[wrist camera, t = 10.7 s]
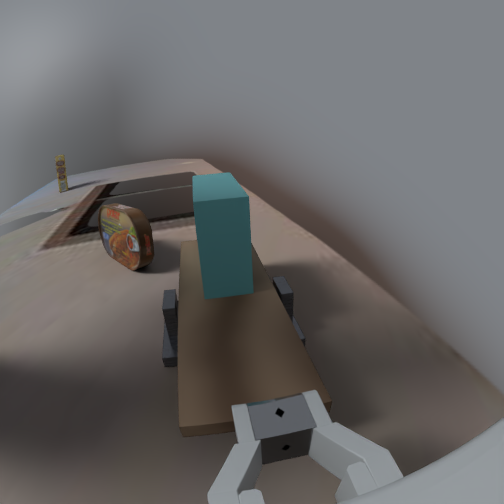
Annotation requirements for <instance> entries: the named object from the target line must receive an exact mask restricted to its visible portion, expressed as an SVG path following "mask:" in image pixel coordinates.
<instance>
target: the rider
mask: <svg viewBox="0 0 504 504" xmlns="http://www.w3.org/2000/svg"><path fill="white" fill-rule="evenodd" d="M193 205H194V215H195V224H196V234H197V242H198V251H199V259H200V267H201V275H202V283H203V291H204V298H205V299H212V298H220V297H228V296H236V295H244V294H252V293H254V291H253V271H252V250H251V230H250V209H249V196H248V195H247V194H246V192H245V191H244V190H243V189H242V187H241V186H240V185H239V184H238V182H237V181H236V180H235V179H234V177H233V176H232V175H231V174H230V173H218V174H207V175H197V176H193Z"/></svg>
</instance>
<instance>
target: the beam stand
mask: <svg viewBox="0 0 504 504" xmlns="http://www.w3.org/2000/svg"><path fill="white" fill-rule="evenodd" d="M273 286H274V288H275V289H276V291H277V294H278V296H279V298H280V300H281V302H282V304H283V306H284V308H285V309H286V311H287V313H288V315H289V317H290V319H291V321H292V323H293V325H294V327H295V329H296V331H297V333H298V335H299V337H300V339H301V341H302V343H303V345H304V347H305V337H304V335H303V333H302V331H301V329H300V327H299V325H298V323H297V322H296V320H295V318H294V316H293V291H292V289H291V288H290V286H289V284H288V283H287V281H286V279H285V278H284V276H280V277H273ZM177 301H178V300H177V295H176V289H174V290H165V291H164V298H163V307H162V310H163V315H164V319H165V326H164V340H163V355H162V359H163V362H164V366H165V367H169V366H178V309H177Z"/></svg>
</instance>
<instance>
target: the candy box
mask: <svg viewBox="0 0 504 504" xmlns="http://www.w3.org/2000/svg"><path fill="white" fill-rule="evenodd" d="M55 160H56V169H57V177H58V184H59V191H60V192H64V191H68V184H67V176H66V168H65V159H64V155H59V156H56V157H55Z"/></svg>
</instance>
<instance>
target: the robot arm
mask: <svg viewBox="0 0 504 504" xmlns="http://www.w3.org/2000/svg"><path fill="white" fill-rule="evenodd" d="M232 413H233V420H234V426H235V432H236V437H237V442H238V444H234V446H233V448H232V450H231V452H230V454H229V456H228V458H227V459H226V461H225V463H224V465H223V467H222V469H221V470H220V472H219V474H218V476H217V478H216V480H215V481H214V483H213V485H212V487H211V488H210V490H209V492H208V494H207V496H208V503H209V504H264V500H263V496H262V493H261V491H259V490H257V489H253V488H254V486H255V483H256V481H257V478H258V476H259V473H260V471H261V468H262V465H264V464H268V463H273V462H277V461H282V460H286V459H291V458H296V457H300V456H305V455H309V456H310V457H311V458H312V459H314V460H315V461H316V462H317V463H319V464H320V465H321V466H323V467H324V468H325V469H327V470H328V471H329V472H331V473H332V474H333V475H335V476H336V477H338V478H339V479H340V480H342V481H341V483H340V485H339V487H338V489H337V491H336V493H335V498H336V500H337V503H336V504H504V417H503V418H502V419H500V420H499V421H498V422H496V423H495V424H493V425H492V426H491V427H489V428H488V429H486V430H485V431H484V432H482V433H481V434H479V435H478V436H476V437H475V438H473V439H472V440H470V441H468V442H467V443H465V444H464V445H462V446H460V447H459V448H457V449H456V450H454V451H452V452H450V453H449V454H447V455H445V456H444V457H442V458H440V459H438V460H436V461H435V462H433V463H431V464H429V465H427V466H425V467H423V468H421V469H419V470H417V471H415V472H413V473H411V474H409V475H407V476H405V477H403V475H402V473H401V471H400V470H399V468H398V466H397V464H396V463H395V461H394V459H393V457H392V456H391V454H390V452H389V451H388V450H387V449H385V448H383V447H381V446H379V445H377V444H376V443H374V442H372V441H370V440H368V439H366V438H364V437H363V436H361V435H359V434H357V433H355V432H353V431H352V430H350V429H348V428H346V427H345V426H343V425H341V424H339V423H338V422H335V423H333V422H332V420H331V418H330V416H329V414H328V412H327V410H326V408H325V406H324V404H323V402H322V400H321V398H320V396H319V394H318V392H317V391H316V390H311V391H307V392H303V393H297V394H293V395H288V396H284V397H279V398H274V399H272V400H265V401H259V402H252V403H245V404H238V405H232Z"/></svg>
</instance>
